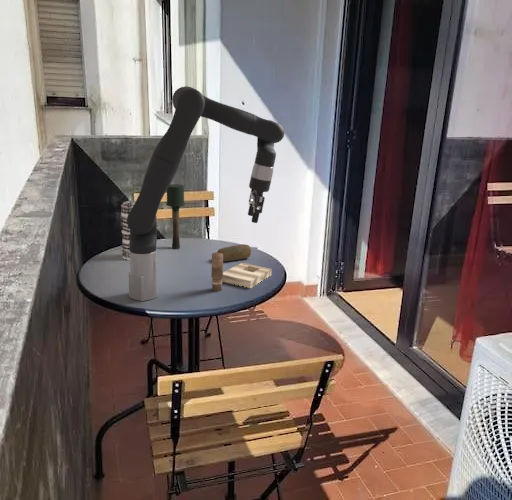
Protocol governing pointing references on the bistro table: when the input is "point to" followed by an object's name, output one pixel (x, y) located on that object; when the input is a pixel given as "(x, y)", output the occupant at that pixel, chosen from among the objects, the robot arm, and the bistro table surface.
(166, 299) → the bistro table surface
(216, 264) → the peg
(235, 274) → the board
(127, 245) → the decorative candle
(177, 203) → the potato masher grenade
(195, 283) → the bistro table surface
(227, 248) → the stone weight
